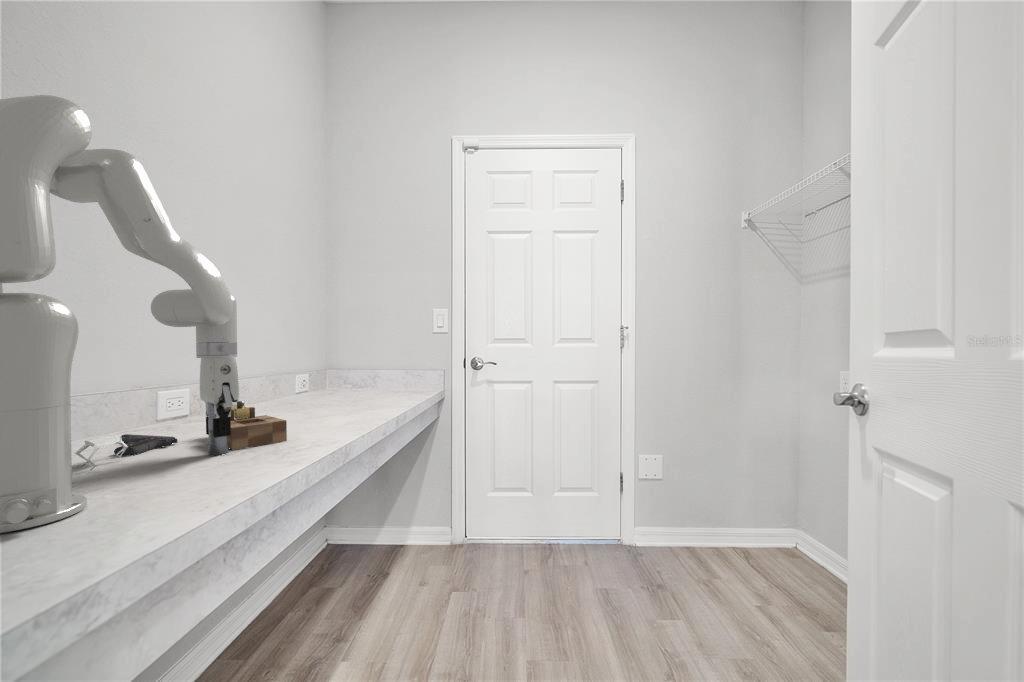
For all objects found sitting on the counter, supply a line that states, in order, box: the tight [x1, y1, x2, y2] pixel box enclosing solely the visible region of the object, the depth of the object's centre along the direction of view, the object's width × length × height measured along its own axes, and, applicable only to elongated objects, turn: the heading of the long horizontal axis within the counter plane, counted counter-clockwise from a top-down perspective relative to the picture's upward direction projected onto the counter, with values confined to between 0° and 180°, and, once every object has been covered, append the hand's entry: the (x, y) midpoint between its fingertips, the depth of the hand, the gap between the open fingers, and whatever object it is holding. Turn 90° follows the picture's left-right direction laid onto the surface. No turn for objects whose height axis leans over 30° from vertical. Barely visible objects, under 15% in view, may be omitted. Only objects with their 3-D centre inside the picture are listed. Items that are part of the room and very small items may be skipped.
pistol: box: [113, 433, 178, 456], centre depth 107 cm, size 2×19×12 cm
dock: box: [228, 406, 288, 451], centre depth 112 cm, size 12×12×8 cm
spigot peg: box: [208, 400, 229, 456], centre depth 100 cm, size 4×4×12 cm
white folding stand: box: [74, 434, 128, 471], centre depth 92 cm, size 12×8×5 cm
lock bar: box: [231, 400, 250, 419], centre depth 117 cm, size 10×3×4 cm, turn 50°
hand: (218, 434), depth 100 cm, fingers closed on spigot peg, 3 cm apart
